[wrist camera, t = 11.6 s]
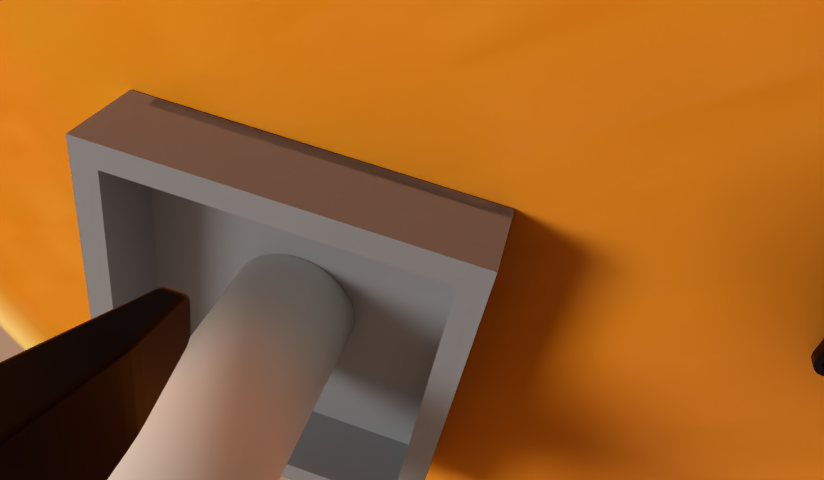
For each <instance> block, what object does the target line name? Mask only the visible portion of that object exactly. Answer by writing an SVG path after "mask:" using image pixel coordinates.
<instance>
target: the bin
mask: <svg viewBox="0 0 824 480" xmlns="http://www.w3.org/2000/svg"><path fill="white" fill-rule="evenodd" d="M66 139H67V146H68V153H69V160H70V168H71V175H72V182H73V190H74V197H75V204H76V211H77V219H78V226H79V233H80V241H81V248H82V255H83V262H84V270H85V277H86V284H87V292H88V299H89V306H90V313H91V319H93V318H95V317H97V316H99V315H101V314H104V313H106V312H108V311H110V310H112V309H114V308H116V307H118V306H120V305H123V304H125V303H127V302H129V301H131V300H133V299H135V298H137V297H139V296H142V295H144V294H146V293H148V292H150V291H152V290H154V289H156V288H159V287H168V288H171V289H174V290H177V291H180V292H183V293H185V294H187V295H188V296H189V298H190V313H191V334H190V337H191V335H192V334H193V333H194V331H195V330H196V329H197V327H198V326H199V325H200V323H201V322H202V321H203V319H204V318H205V317H206V315H207V314H208V313H209V311H210V310H211V309H212V307H213V306H214V305H215V303H216V302H217V301H218V299H219V298H220V297H221V295H222V294H223V293H224V291H225V290H226V289H227V287H228V286H229V285H230V283H231V282H232V281H233V279H234V278H235V277H236V275H237V274H238V273H239V271H240V270H241V269H242V268H243V266H244V265H245V264H246V263H248V262H249V261H250V260H252V259H254V258H256V257H259V256H262V255H267V254H284V255H291V256H295V257H298V258H301V259H304V260H307V261H309V262H311V263H313V264H315V265H316V266H318V267H320V268H321V269H323V270H324V271H326V272H327V273H328V274H330V275H331V276H332V277H333V278H334V279H335V280H336V281H337V282H338V283H339V284H340V285H341V287H342V288H343V289H344V291H345V292H346V294H347V296H348V297H349V299H350V302H351V304H352V307H353V311H354V326H353V330H352V332H351V334H350V336H349V338H348V340H347V342H346V344H345V346H344V348H343V351H342V353H341V355H340V357H339V359H338V361H337V363H336V365H335V367H334V369H333V371H332V373H331V375H330V377H329V379H328V381H327V383H326V385H325V387H324V389H323V391H322V393H321V395H320V397H319V400H318V402H317V404H316V406H315V408H314V410H313V412H312V414H311V416H310V418H309V420H308V422H307V424H306V426H305V428H304V430H303V432H302V434H301V436H300V438H299V440H298V442H297V444H296V446H295V449H294V451H293V453H292V455H291V457H290V459H289V461H288V463H287V465H286V467H285V469H284V471H283V473H282V475H281V476H282V477H285V478H288V479H290V480H425V478H426V475H427V472H428V470H429V467H430V464H431V461H432V458H433V455H434V453H435V450H436V447H437V444H438V441H439V438H440V435H441V433H442V430H443V427H444V424H445V421H446V418H447V415H448V413H449V410H450V407H451V404H452V401H453V398H454V395H455V393H456V390H457V387H458V384H459V381H460V378H461V375H462V373H463V370H464V367H465V364H466V361H467V358H468V355H469V353H470V350H471V347H472V344H473V341H474V338H475V335H476V333H477V330H478V327H479V324H480V321H481V318H482V315H483V313H484V310H485V307H486V304H487V301H488V298H489V296H490V293H491V290H492V287H493V284H494V281H495V278H496V276H497V273H498V269H499V265H500V262H501V258H502V254H503V251H504V247H505V243H506V240H507V236H508V232H509V229H510V225H511V221H512V218H513V214H514V210H515V209H512V208H509V207H506V206H503V205H500V204H496V203H493V202H490V201H487V200H483V199H480V198H477V197H474V196H471V195H467V194H464V193H461V192H458V191H455V190H451V189H448V188H445V187H442V186H438V185H435V184H432V183H429V182H426V181H422V180H419V179H416V178H413V177H410V176H406V175H403V174H400V173H397V172H393V171H390V170H387V169H384V168H381V167H377V166H374V165H371V164H368V163H365V162H361V161H358V160H355V159H352V158H348V157H345V156H342V155H339V154H336V153H332V152H329V151H326V150H323V149H320V148H316V147H313V146H310V145H307V144H303V143H300V142H297V141H294V140H291V139H287V138H284V137H281V136H278V135H275V134H271V133H268V132H265V131H262V130H258V129H255V128H252V127H249V126H246V125H242V124H239V123H236V122H233V121H230V120H226V119H223V118H220V117H217V116H213V115H210V114H207V113H204V112H201V111H197V110H194V109H191V108H188V107H185V106H181V105H178V104H175V103H172V102H168V101H165V100H162V99H159V98H156V97H152V96H149V95H146V94H143V93H140V92H136V91H133V90H129V91H128V92H127V93H125V94H124V95H122V96H121V97H119V98H118V99H116V100H115V101H113V102H112V103H110V104H109V105H107V106H106V107H105V108H103V109H102V110H100V111H99V112H97V113H96V114H94V115H93V116H91V117H90V118H88V119H87V120H85V121H84V122H83V123H81V124H80V125H78V126H77V127H75V128H74V129H72V130H71V131H69V132H68V133H66Z"/></svg>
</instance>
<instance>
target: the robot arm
mask: <svg viewBox="0 0 824 480" xmlns="http://www.w3.org/2000/svg"><path fill="white" fill-rule="evenodd" d="M190 334H191V313H190V298H189V296H188V295H187V294H185V293H183V292H180V291H177V290H174V289H171V288H168V287H159V288H156V289H154V290H152V291H150V292H148V293H146V294H144V295H142V296H139V297H137V298H135V299H133V300H131V301H129V302H127V303H125V304H123V305H120V306H118V307H116V308H114V309H112V310H110V311H108V312H106V313H104V314H101V315H99V316H97V317H95V318H93V319H91V320H89V321H87V322H85V323H82V324H80V325H78V326H76V327H74V328H72V329H70V330H68V331H66V332H63V333H61V334H59V335H57V336H55V337H53V338H51V339H49V340H47V341H44V342H42V343H40V344H38V345H36V346H34V347H32V348H30V349H28V350H25V351H23V352H21V353H19V354H17V355H15V356H13V357H11V358H9V359H6V360H5V361H2V362H0V480H107V479H108V478H109V477H110V475H111V474H112V472H113V471H114V469H115V468H116V467H117V465H118V464H119V462H120V461H121V459H122V458H123V457H124V455H125V454H126V452H127V451H128V449H129V448H130V446H131V445H132V443H133V442H134V440H135V439H136V437H137V436H138V434H139V433H140V431H141V429H142V427H143V426H144V424H145V422H146V421H147V419H148V417H149V415H150V413H151V411H152V410H153V408H154V406H155V404H156V402H157V400H158V399H159V397H160V395H161V393H162V391H163V390H164V388H165V386H166V384H167V382H168V380H169V379H170V377H171V375H172V373H173V371H174V369H175V368H176V366H177V364H178V362H179V360H180V358H181V357H182V355H183V353H184V351H185V349H186V347H187V345H188V342H189V339H190ZM811 359H812V364H813V367H814V370H815V371H816V372H817V373H818V374H820V375H822V376H824V339H823V340H822V342H821V343H820V344H819V345H818V347H817V348H816V349H815V350H814V352H813V353H812V356H811Z"/></svg>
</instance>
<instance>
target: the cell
mask: <svg viewBox="0 0 824 480" xmlns="http://www.w3.org/2000/svg"><path fill="white" fill-rule="evenodd" d="M353 326H354V311H353V307H352V304H351V302H350V299H349V297H348V296H347V294H346V292H345V291H344V289H343V288H342V287H341V285H340V284H339V283H338V282H337V281H336V280H335V279H334V278H333V277H332V276H331V275H330V274H328V273H327V272H326V271H324V270H323V269H321V268H320V267H318V266H316V265H315V264H313V263H311V262H309V261H307V260H304V259H301V258H298V257H295V256H291V255H284V254H267V255H262V256H259V257H256V258H254V259H252V260H250V261H249V262H248V263H246V264H245V265H244V266H243V268H242V269H241V270H240V271H239V273H238V274H237V275H236V277H235V278H234V279H233V281H232V282H231V283H230V285H229V286H228V287H227V289H226V290H225V291H224V293H223V294H222V295H221V297H220V298H219V299H218V301H217V302H216V303H215V305H214V306H213V307H212V309H211V310H210V311H209V313H208V314H207V315H206V317H205V318H204V319H203V321H202V322H201V323H200V325H199V326H198V327H197V329H196V330H195V331H194V333H193V334H192V335H191V337H190V339H189V342H188V345H187V347H186V349H185V351H184V353H183V355H182V357H181V358H180V360H179V362H178V364H177V366H176V368H175V369H174V371H173V373H172V375H171V377H170V379H169V380H168V382H167V384H166V386H165V388H164V390H163V391H162V393H161V395H160V397H159V399H158V400H157V402H156V404H155V406H154V408H153V410H152V411H151V413H150V415H149V417H148V419H147V421H146V422H145V424H144V426H143V427H142V429H141V431H140V433H139V434H138V436H137V437H136V439H135V440H134V442H133V443H132V445H131V446H130V448H129V449H128V451H127V452H126V454H125V455H124V457H123V458H122V459H121V461H120V462H119V464H118V465H117V467H116V468H115V469H114V471H113V472H112V474H111V475H110V477H109V478H108V479H107V480H279V479H280V477H281V475H282V473H283V471H284V469H285V467H286V465H287V463H288V461H289V459H290V457H291V455H292V453H293V451H294V449H295V446H296V444H297V442H298V440H299V438H300V436H301V434H302V432H303V430H304V428H305V426H306V424H307V422H308V420H309V418H310V416H311V414H312V412H313V410H314V408H315V406H316V404H317V402H318V400H319V397H320V395H321V393H322V391H323V389H324V387H325V385H326V383H327V381H328V379H329V377H330V375H331V373H332V371H333V369H334V367H335V365H336V363H337V361H338V359H339V357H340V355H341V353H342V351H343V348H344V346H345V344H346V342H347V340H348V338H349V336H350V334H351V332H352V330H353Z"/></svg>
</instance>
